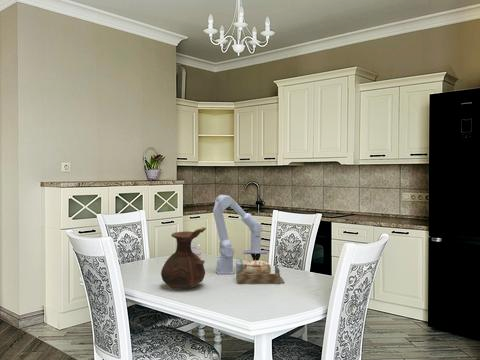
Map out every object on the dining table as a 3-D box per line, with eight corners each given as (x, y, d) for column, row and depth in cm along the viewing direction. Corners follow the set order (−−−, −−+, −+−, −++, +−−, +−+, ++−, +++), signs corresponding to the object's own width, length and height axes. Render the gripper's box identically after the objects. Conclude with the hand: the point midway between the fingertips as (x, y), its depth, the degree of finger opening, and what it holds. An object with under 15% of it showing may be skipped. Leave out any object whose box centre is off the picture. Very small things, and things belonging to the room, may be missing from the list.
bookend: (277, 283, 232) (277, 269, 232) (274, 277, 244) (274, 264, 244) (284, 283, 232) (284, 269, 232) (281, 277, 245) (281, 264, 244)
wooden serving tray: (237, 284, 230) (237, 264, 230) (236, 278, 243) (236, 259, 243) (280, 283, 231) (280, 264, 231) (276, 277, 244) (276, 259, 244)
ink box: (201, 263, 281) (201, 239, 280) (198, 265, 276) (198, 241, 276) (188, 262, 283) (189, 239, 283) (185, 264, 279) (185, 240, 278)
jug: (167, 294, 210) (167, 230, 210) (156, 283, 230) (157, 225, 230) (211, 289, 219) (211, 228, 218) (197, 279, 239) (197, 223, 238)
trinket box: (273, 276, 248) (274, 262, 248) (249, 278, 242) (249, 264, 242) (263, 271, 261) (263, 257, 260) (239, 273, 255) (239, 259, 255)
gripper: (243, 244, 257) (243, 268, 257) (268, 244, 258) (268, 268, 258) (242, 242, 264) (242, 265, 264) (267, 242, 265) (267, 265, 265)
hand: (255, 266), depth 262 cm, fingers closed
